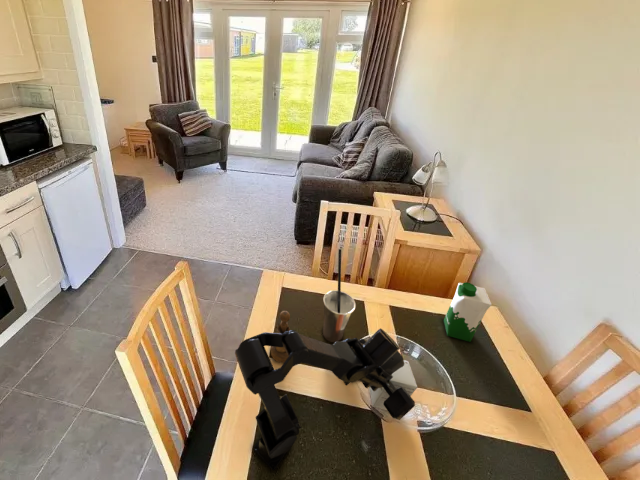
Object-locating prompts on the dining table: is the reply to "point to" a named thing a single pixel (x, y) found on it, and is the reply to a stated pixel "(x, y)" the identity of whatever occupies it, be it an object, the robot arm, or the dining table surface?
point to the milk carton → (466, 311)
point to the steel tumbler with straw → (337, 310)
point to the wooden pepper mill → (280, 352)
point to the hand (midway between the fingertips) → (392, 381)
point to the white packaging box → (400, 379)
